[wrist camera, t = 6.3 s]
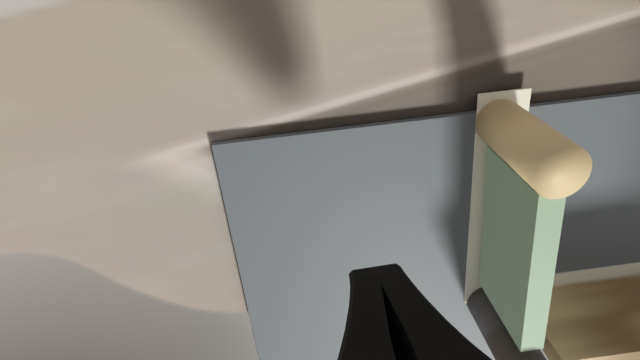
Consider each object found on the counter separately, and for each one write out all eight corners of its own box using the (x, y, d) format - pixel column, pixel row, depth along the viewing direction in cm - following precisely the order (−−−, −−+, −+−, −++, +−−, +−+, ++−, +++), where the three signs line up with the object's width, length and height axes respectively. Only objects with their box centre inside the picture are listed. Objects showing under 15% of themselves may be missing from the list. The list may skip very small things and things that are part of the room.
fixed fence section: (692, 257, 20) (795, 334, 16) (682, 286, 20) (778, 367, 16) (467, 286, 19) (515, 373, 15) (465, 315, 20) (510, 404, 16)
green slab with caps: (506, 277, 19) (559, 353, 15) (468, 283, 19) (513, 361, 15) (523, 95, 15) (596, 141, 12) (476, 102, 15) (535, 150, 12)
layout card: (781, 54, 16) (792, 57, 16) (677, 338, 22) (683, 344, 22) (208, 122, 15) (206, 126, 15) (268, 394, 22) (268, 401, 21)
